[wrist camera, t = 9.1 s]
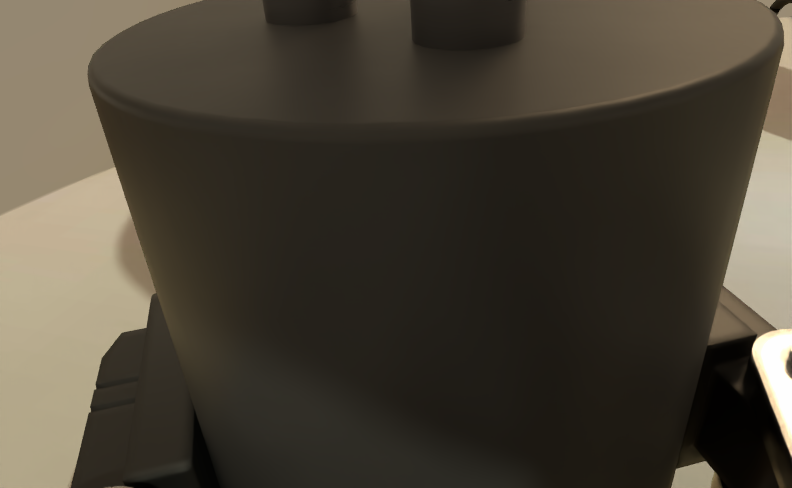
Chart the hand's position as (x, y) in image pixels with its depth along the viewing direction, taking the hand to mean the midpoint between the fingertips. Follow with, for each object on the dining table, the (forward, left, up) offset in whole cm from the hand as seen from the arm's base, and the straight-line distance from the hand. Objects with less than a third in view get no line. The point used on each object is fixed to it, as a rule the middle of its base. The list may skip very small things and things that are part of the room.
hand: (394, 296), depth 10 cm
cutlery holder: (+2, +1, -7) cm, 7 cm away
